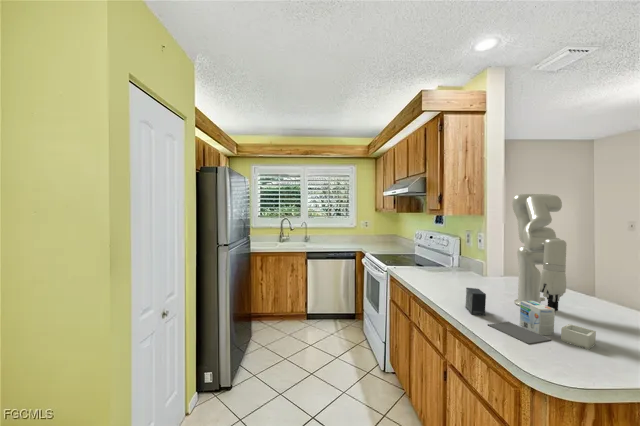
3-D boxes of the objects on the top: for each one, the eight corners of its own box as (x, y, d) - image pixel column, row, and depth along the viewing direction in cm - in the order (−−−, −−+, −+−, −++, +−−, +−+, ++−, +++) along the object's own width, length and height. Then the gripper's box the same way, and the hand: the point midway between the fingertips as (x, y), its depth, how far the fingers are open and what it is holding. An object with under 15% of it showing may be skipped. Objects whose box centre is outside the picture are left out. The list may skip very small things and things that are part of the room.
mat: (508, 322, 129) (508, 321, 129) (551, 340, 112) (551, 339, 112) (487, 325, 126) (487, 324, 126) (528, 344, 109) (528, 343, 109)
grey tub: (568, 336, 116) (569, 323, 116) (595, 344, 110) (595, 331, 110) (561, 340, 112) (561, 328, 112) (588, 349, 105) (588, 336, 105)
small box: (486, 316, 137) (486, 294, 136) (471, 314, 138) (472, 293, 138) (478, 308, 147) (479, 288, 147) (464, 307, 148) (465, 287, 148)
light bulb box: (518, 324, 127) (519, 300, 127) (533, 324, 128) (534, 300, 127) (539, 335, 116) (540, 309, 116) (554, 335, 117) (555, 309, 117)
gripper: (556, 265, 130) (555, 305, 131) (532, 266, 126) (531, 308, 126) (576, 268, 123) (574, 311, 123) (551, 270, 118) (549, 314, 119)
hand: (552, 309), depth 125 cm, fingers closed
